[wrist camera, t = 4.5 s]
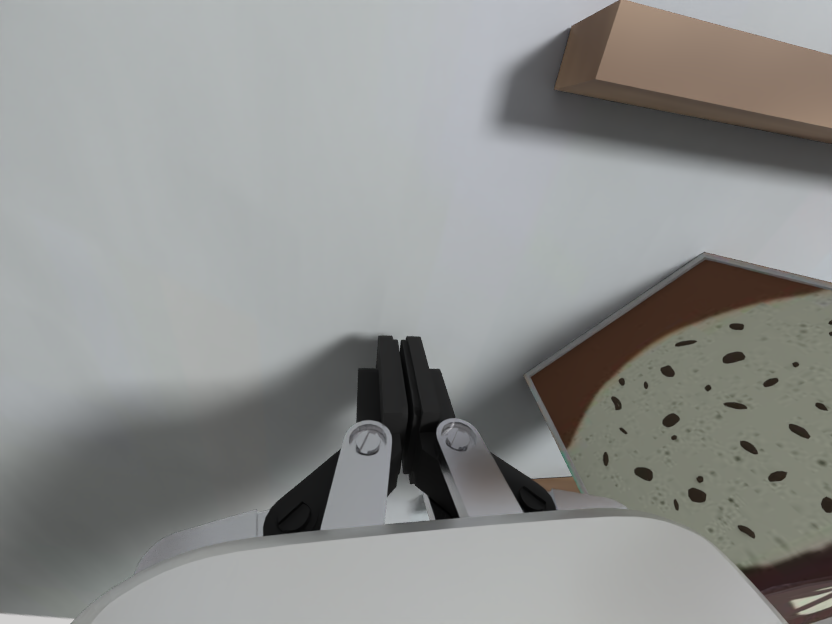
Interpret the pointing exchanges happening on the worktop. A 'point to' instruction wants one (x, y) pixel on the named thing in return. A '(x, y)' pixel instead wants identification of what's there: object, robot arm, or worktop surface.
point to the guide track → (696, 78)
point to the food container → (712, 418)
